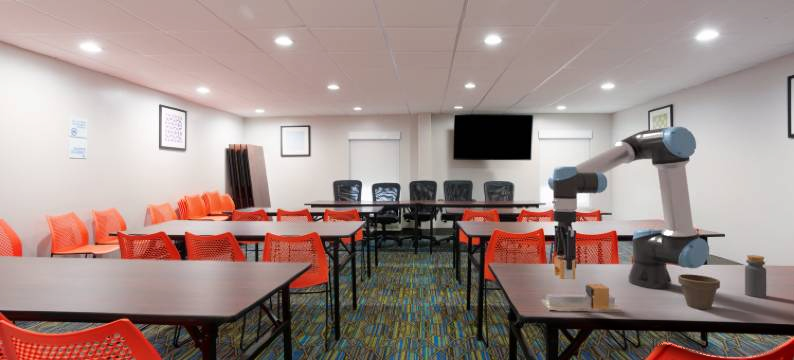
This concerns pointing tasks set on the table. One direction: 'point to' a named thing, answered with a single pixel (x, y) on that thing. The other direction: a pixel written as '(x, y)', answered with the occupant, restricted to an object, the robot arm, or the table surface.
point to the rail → (583, 300)
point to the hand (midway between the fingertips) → (564, 276)
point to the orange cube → (562, 267)
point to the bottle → (755, 277)
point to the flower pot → (699, 290)
